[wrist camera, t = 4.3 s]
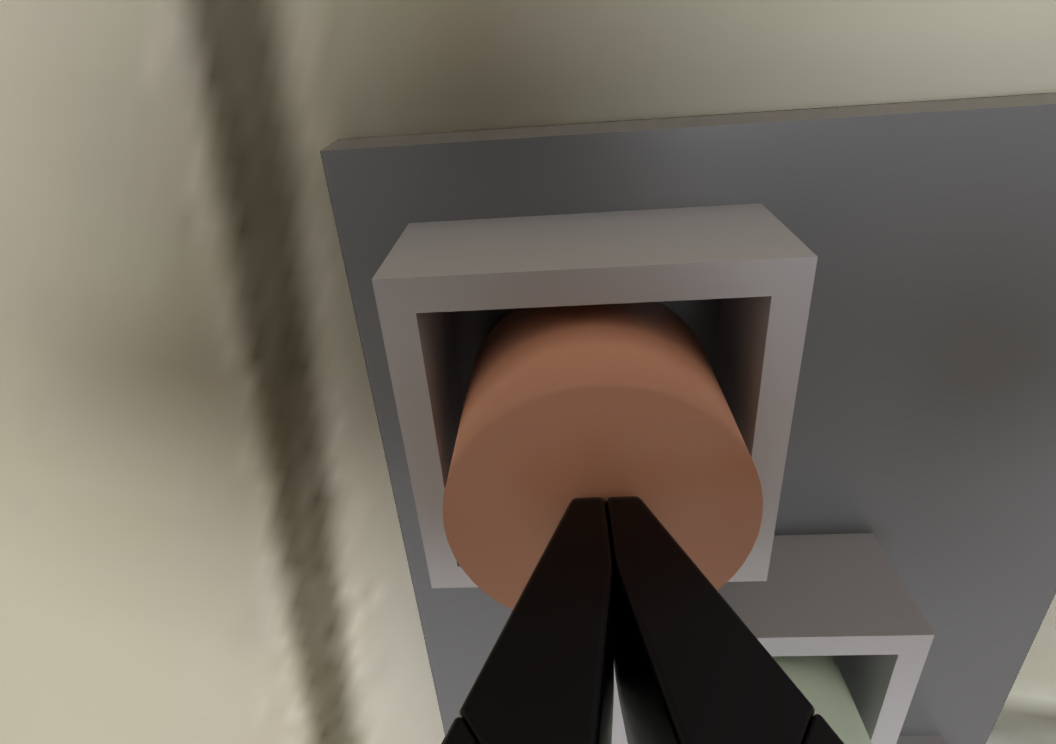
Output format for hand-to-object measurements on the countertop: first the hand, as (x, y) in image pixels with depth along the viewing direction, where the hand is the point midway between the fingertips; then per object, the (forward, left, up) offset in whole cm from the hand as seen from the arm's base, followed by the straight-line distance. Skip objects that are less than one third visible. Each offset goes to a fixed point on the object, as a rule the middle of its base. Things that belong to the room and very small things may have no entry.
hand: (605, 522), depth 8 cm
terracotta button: (0, 0, -3) cm, 3 cm away
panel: (-3, +7, -5) cm, 9 cm away
